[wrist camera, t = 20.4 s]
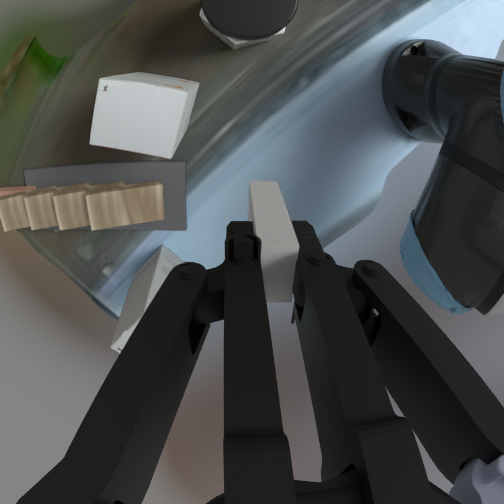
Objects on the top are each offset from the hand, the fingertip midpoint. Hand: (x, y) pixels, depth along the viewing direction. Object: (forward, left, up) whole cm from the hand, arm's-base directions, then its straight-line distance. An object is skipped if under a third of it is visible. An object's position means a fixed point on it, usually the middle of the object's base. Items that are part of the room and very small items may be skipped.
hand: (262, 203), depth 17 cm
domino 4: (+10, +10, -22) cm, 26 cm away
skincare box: (+11, +22, -24) cm, 34 cm away
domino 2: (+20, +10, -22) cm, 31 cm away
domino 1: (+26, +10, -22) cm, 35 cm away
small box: (+10, -3, -24) cm, 26 cm away
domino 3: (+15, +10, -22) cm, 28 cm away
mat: (+19, +10, -23) cm, 32 cm away
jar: (+1, -14, -24) cm, 27 cm away
